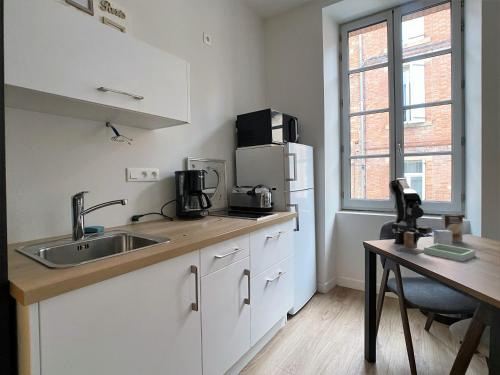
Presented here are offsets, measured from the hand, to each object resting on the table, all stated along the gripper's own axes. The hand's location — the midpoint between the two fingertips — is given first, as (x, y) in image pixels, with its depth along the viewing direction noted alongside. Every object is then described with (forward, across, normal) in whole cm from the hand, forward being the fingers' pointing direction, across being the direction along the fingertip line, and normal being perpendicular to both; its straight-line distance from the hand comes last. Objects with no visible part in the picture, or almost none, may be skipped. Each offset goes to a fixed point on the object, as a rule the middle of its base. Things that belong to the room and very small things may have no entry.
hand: (410, 243), depth 143 cm
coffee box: (+4, +2, +42) cm, 42 cm away
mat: (+4, 0, 0) cm, 4 cm away
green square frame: (+4, +14, +8) cm, 17 cm away
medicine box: (+4, +4, +26) cm, 26 cm away
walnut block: (+2, 0, 0) cm, 2 cm away
